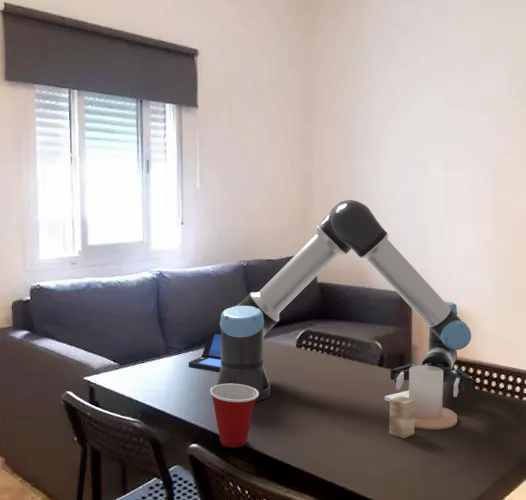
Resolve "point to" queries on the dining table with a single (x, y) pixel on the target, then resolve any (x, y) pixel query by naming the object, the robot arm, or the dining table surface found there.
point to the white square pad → (404, 394)
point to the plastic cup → (233, 412)
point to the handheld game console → (210, 353)
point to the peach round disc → (437, 421)
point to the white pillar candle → (426, 391)
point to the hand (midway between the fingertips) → (425, 387)
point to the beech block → (402, 416)
